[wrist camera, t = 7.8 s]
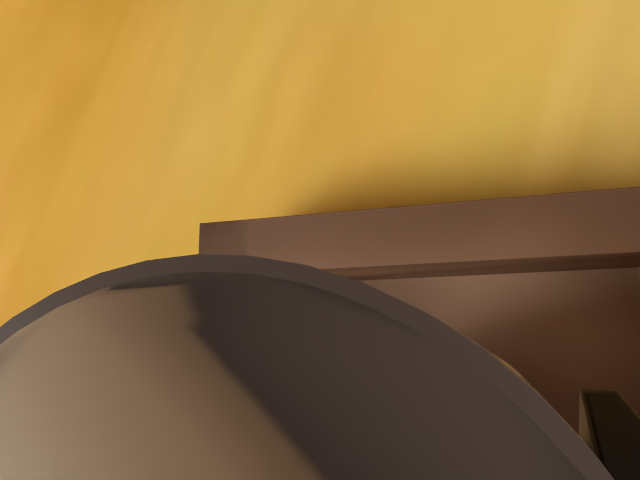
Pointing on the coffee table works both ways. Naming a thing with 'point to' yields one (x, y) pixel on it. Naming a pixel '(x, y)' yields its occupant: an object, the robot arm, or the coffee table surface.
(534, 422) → the lidded tumbler
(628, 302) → the cradle
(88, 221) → the coffee table surface
